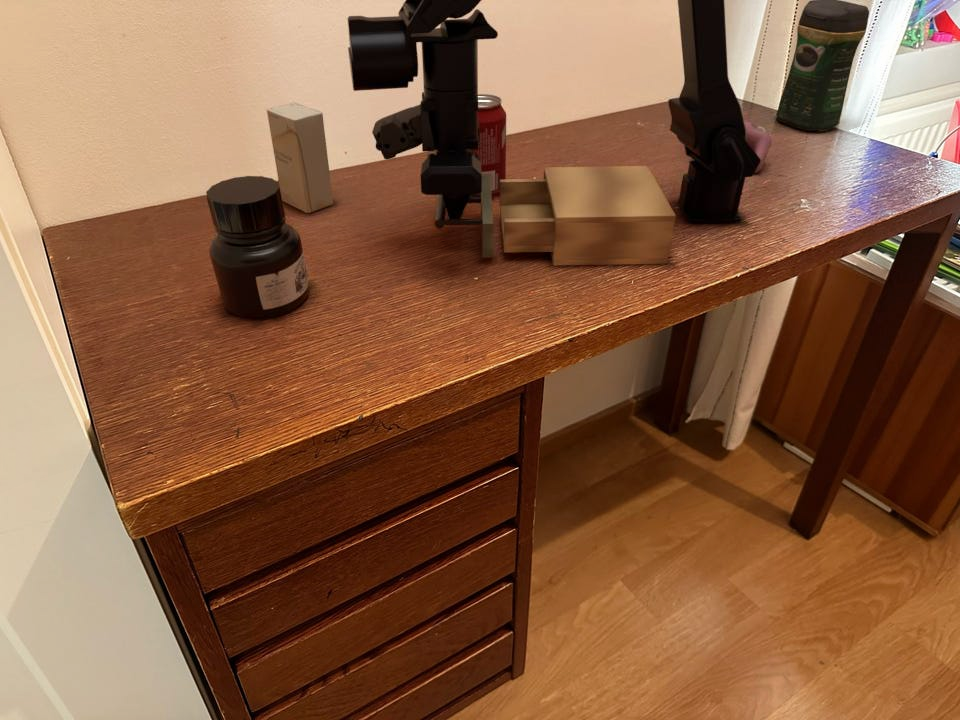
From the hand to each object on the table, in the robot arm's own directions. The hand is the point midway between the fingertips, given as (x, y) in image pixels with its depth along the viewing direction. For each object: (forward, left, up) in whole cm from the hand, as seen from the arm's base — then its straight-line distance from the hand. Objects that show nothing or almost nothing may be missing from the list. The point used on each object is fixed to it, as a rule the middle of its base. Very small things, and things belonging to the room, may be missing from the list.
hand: (454, 221), depth 82 cm
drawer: (-7, 0, -1) cm, 7 cm away
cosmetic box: (+20, -11, -2) cm, 23 cm away
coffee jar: (-58, -40, -2) cm, 71 cm away
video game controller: (-40, -23, -2) cm, 47 cm away
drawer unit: (-18, 0, -2) cm, 18 cm away
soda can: (-3, -15, -2) cm, 15 cm away
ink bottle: (+20, +13, -2) cm, 24 cm away
